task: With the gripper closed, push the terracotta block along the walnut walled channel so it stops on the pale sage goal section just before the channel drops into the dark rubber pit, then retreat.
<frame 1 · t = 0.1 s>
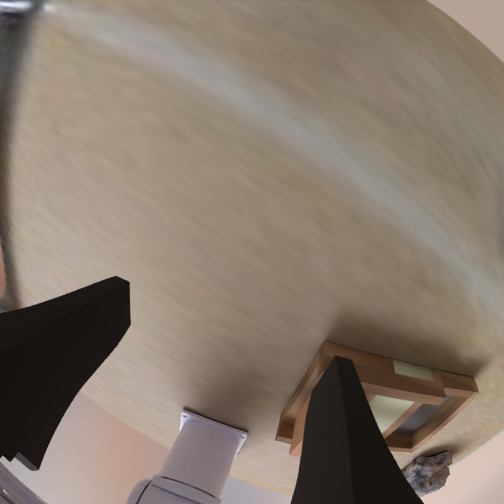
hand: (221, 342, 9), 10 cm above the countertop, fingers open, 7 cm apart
mineral specimen: (416, 464, 27), on the countertop
channel: (370, 400, 22), on the countertop
block: (330, 405, 21), point 1 cm above the countertop, touching channel
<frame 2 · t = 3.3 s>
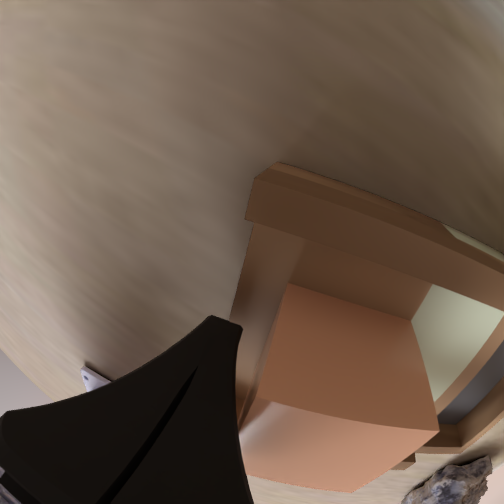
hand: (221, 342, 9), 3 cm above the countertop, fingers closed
mineral specimen: (438, 476, 16), on the countertop
channel: (396, 346, 11), on the countertop
block: (327, 351, 10), point 2 cm above the countertop, touching channel, gripper
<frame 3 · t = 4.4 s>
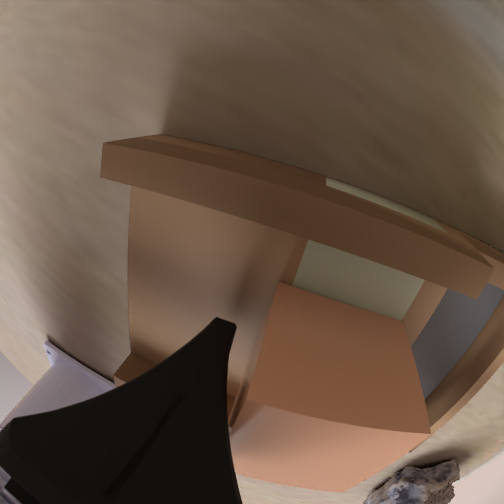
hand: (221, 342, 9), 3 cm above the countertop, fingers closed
mineral specimen: (401, 478, 17), on the countertop
channel: (303, 318, 11), on the countertop
block: (318, 350, 10), point 2 cm above the countertop, touching channel, gripper
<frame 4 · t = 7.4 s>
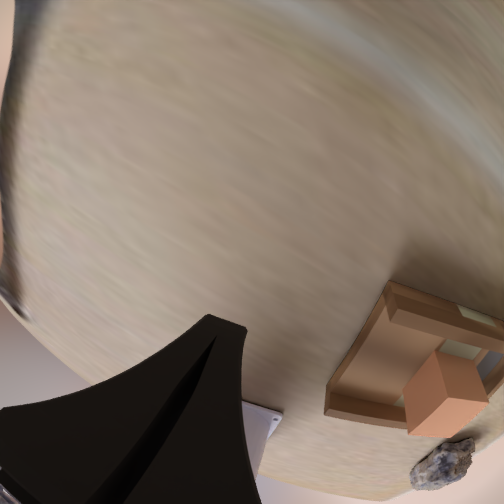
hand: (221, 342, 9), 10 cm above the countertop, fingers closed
mineral specimen: (437, 453, 25), on the countertop
channel: (428, 360, 19), on the countertop
block: (438, 375, 18), point 1 cm above the countertop, touching channel
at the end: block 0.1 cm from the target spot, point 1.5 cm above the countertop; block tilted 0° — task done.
